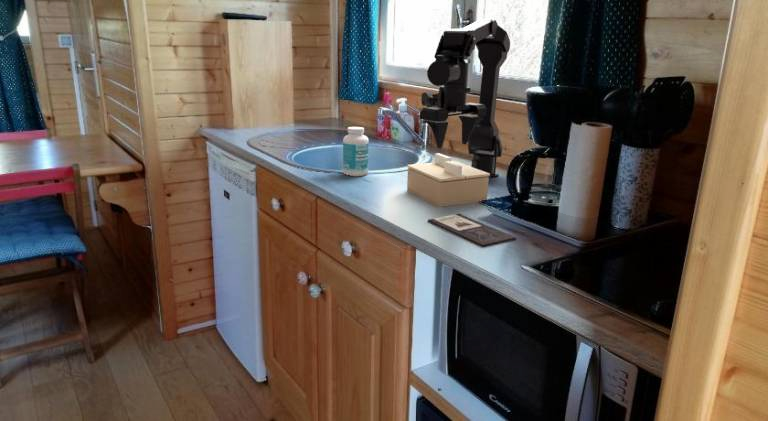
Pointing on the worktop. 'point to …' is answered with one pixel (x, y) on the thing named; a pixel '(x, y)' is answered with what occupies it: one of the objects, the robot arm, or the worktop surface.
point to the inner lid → (466, 170)
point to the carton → (447, 189)
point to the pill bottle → (355, 152)
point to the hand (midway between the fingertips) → (452, 146)
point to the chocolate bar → (471, 230)
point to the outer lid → (439, 171)
